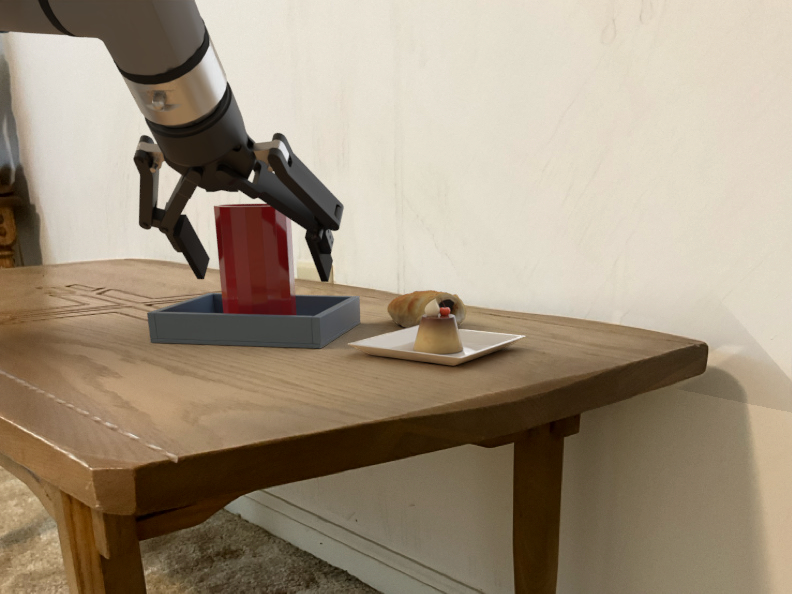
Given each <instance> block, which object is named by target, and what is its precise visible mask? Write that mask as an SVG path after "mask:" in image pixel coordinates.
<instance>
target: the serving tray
mask: <svg viewBox="0 0 792 594" xmlns="http://www.w3.org/2000/svg"><path fill="white" fill-rule="evenodd" d="M295 297H296V314H297V315H261V314H224V313H223V303H222V292H207V293H205V294H201V295H198V296H195V297H192V298H189V299H186V300H183V301H179V302H176V303H173V304H170V305H167V306H164V307H161V308H158V309H153V310H151V311H148V312H147V313H146V317H147V325H148V333H149V342H150V343H152V344H153V343H154V344H176V345H177V344H179V345H180V344H181V345H209V346H210V345H211V346H235V347H237V346H240V347H264V348H265V347H268V348H292V349H293V348H297V349H323V348H324V347H326V346H327V345H328V344H330V343H332V342H333V341H335V340H336V339H338V338H340V337H341V336H343V335H344V334H346V333H347V332H349V331H351V330H352V329H353V328H355V327H357V326H359V324H361V297H360V295H332V294H331V295H329V294H327V295H326V294H295Z"/></svg>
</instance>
